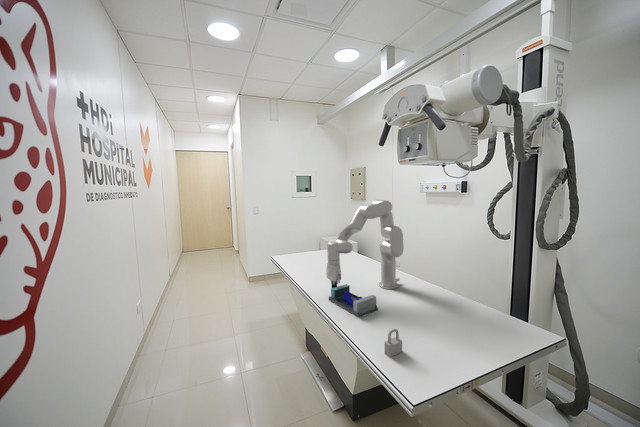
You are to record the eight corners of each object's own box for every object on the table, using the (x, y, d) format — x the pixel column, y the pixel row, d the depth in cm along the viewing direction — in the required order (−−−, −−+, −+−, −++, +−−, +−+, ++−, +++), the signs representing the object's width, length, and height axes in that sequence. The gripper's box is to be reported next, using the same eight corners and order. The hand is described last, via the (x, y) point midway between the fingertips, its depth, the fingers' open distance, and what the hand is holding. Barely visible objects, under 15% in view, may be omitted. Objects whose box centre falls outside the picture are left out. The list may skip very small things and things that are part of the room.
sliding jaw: (346, 293, 165) (346, 284, 164) (349, 294, 162) (349, 285, 162) (331, 297, 158) (330, 288, 158) (334, 299, 156) (333, 290, 155)
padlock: (396, 347, 111) (396, 324, 110) (403, 352, 107) (403, 329, 106) (383, 352, 107) (383, 329, 106) (390, 358, 104) (390, 334, 103)
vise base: (346, 294, 167) (346, 283, 166) (377, 310, 144) (377, 297, 143) (328, 300, 159) (328, 288, 158) (358, 317, 136) (358, 303, 136)
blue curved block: (364, 306, 145) (364, 296, 145) (358, 309, 143) (358, 298, 142) (350, 299, 155) (349, 290, 155) (344, 301, 153) (344, 291, 152)
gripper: (322, 260, 168) (322, 288, 169) (336, 265, 155) (336, 295, 157) (331, 258, 172) (332, 285, 174) (345, 263, 159) (346, 292, 161)
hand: (334, 290), depth 165 cm, fingers closed
